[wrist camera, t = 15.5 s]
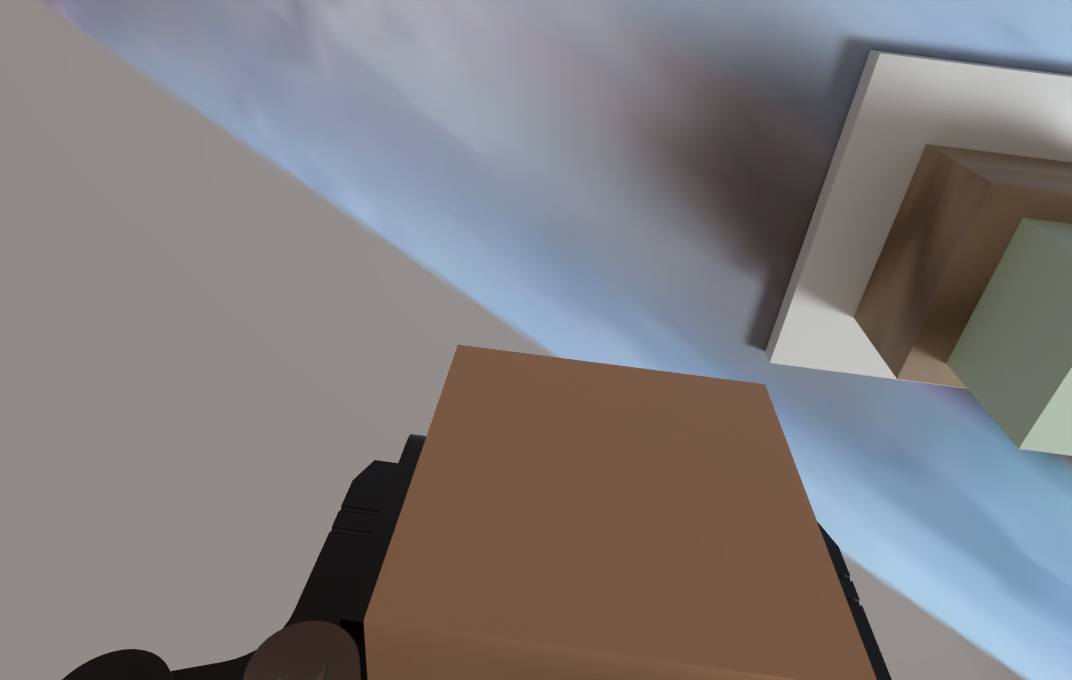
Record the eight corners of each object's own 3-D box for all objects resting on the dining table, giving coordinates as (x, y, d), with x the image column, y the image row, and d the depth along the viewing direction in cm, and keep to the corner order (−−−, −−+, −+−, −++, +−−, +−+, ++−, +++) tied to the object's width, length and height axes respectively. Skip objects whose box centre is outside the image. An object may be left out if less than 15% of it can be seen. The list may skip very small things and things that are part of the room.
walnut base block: (926, 143, 26) (992, 182, 21) (1127, 169, 26) (1234, 213, 21) (853, 317, 30) (897, 379, 26) (1026, 339, 30) (1098, 405, 25)
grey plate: (870, 49, 25) (880, 53, 24) (1232, 95, 25) (1255, 100, 24) (765, 351, 32) (769, 362, 31) (1044, 387, 32) (1056, 400, 31)
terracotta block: (458, 344, 10) (364, 619, 6) (764, 384, 10) (880, 689, 6) (449, 550, 13) (378, 842, 9) (693, 582, 13) (739, 891, 9)
